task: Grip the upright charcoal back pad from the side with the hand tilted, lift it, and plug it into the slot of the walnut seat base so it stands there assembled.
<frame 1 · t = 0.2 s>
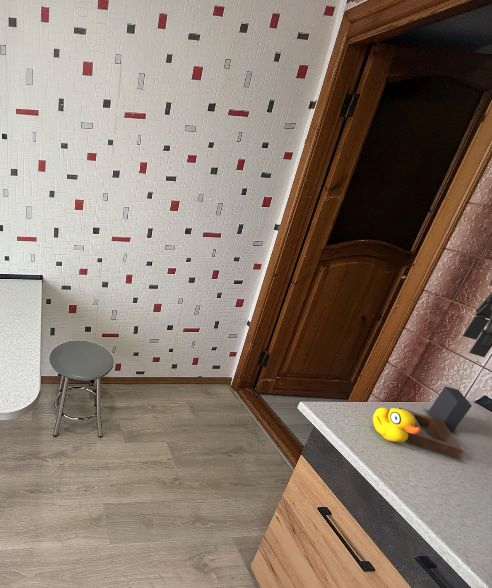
hand: (472, 345, 93), 24 cm above the kitchen counter, tool pointing down, fingers open, 13 cm apart
duckling: (385, 437, 92), on the kitchen counter
seat base: (423, 435, 93), on the kitchen counter
back pad: (440, 421, 99), on the kitchen counter
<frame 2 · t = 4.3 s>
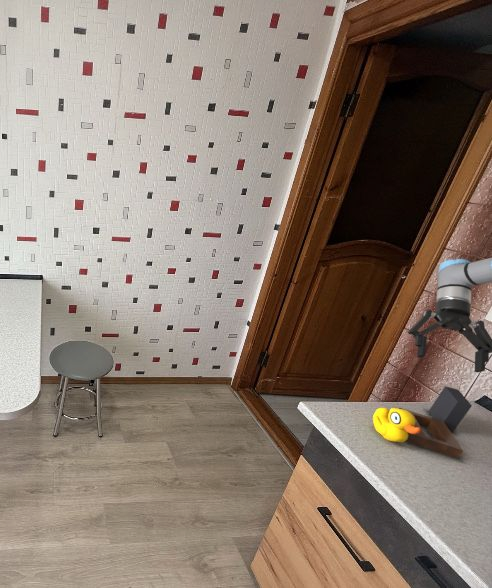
hand: (449, 363, 102), 15 cm above the kitchen counter, tool tilted 45°, fingers open, 13 cm apart
nothing on the kitchen counter moved.
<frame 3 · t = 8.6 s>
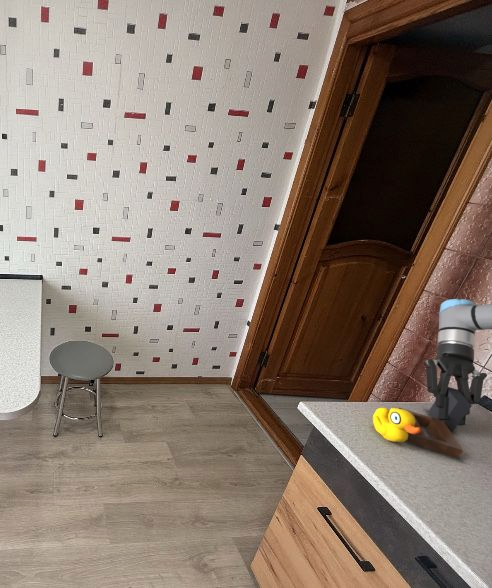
hand: (451, 421, 95), 3 cm above the kitchen counter, tool tilted 45°, fingers closed on back pad, 3 cm apart
back pad: (440, 421, 99), on the kitchen counter, touching gripper
everything else where it was.
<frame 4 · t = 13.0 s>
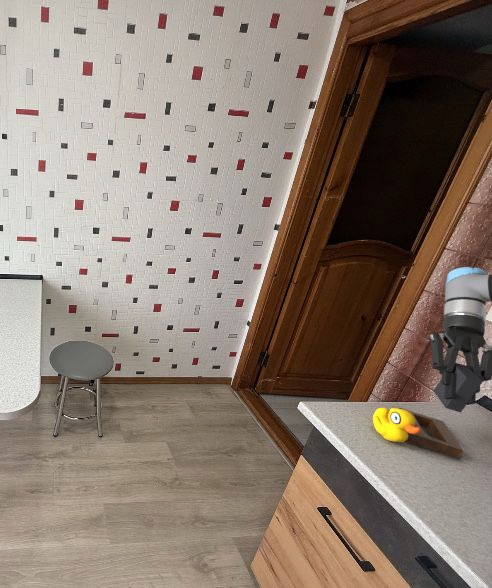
hand: (459, 400, 85), 15 cm above the kitchen counter, tool tilted 45°, fingers closed on back pad, 3 cm apart
back pad: (446, 401, 89), point 12 cm above the kitchen counter, touching gripper
everything else where it was.
when the fingers open (4 cm above the kitchen counter, at t = 17.2 s): back pad stays where it is, point 1 cm above the kitchen counter.
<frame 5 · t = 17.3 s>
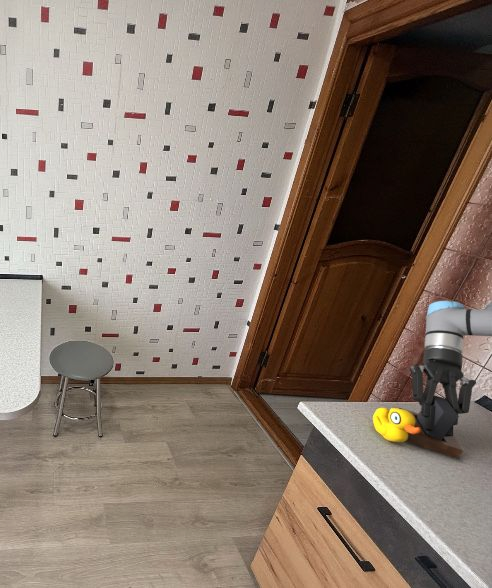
hand: (438, 432, 88), 5 cm above the kitchen counter, tool tilted 45°, fingers open, 3 cm apart
back pad: (426, 432, 93), point 1 cm above the kitchen counter
everything else where it was.
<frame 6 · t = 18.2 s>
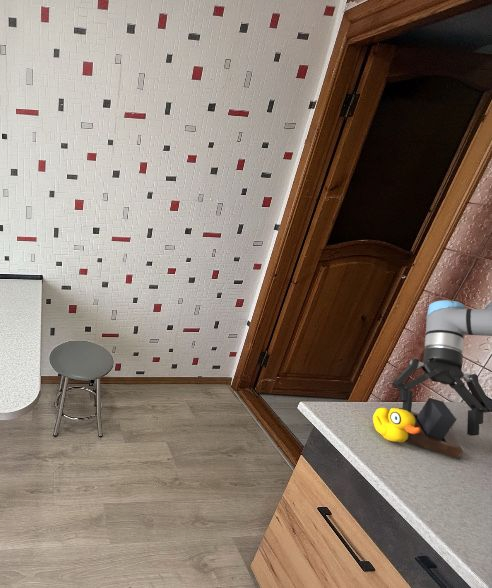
hand: (438, 424, 89), 6 cm above the kitchen counter, tool tilted 45°, fingers open, 13 cm apart
back pad: (423, 435, 93), resting in seat base
everything else where it was.
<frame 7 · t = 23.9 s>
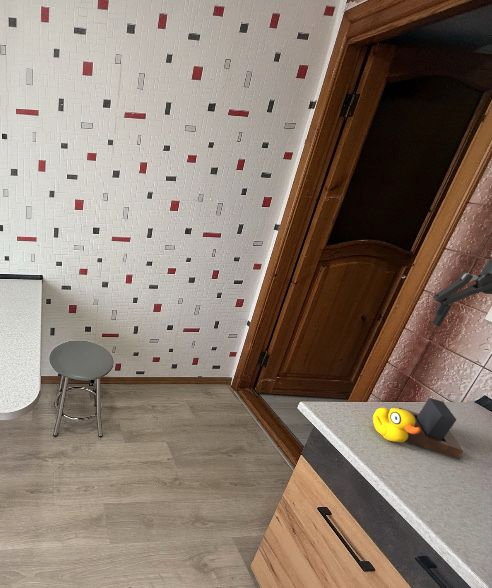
hand: (466, 331, 96), 27 cm above the kitchen counter, tool pointing down, fingers open, 13 cm apart
nothing on the kitchen counter moved.
at the end: back pad 0.0 cm off-centre on the seat base, point 0.0 cm above the seat base's base; back pad tilted 0°; the gripper is holding nothing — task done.
